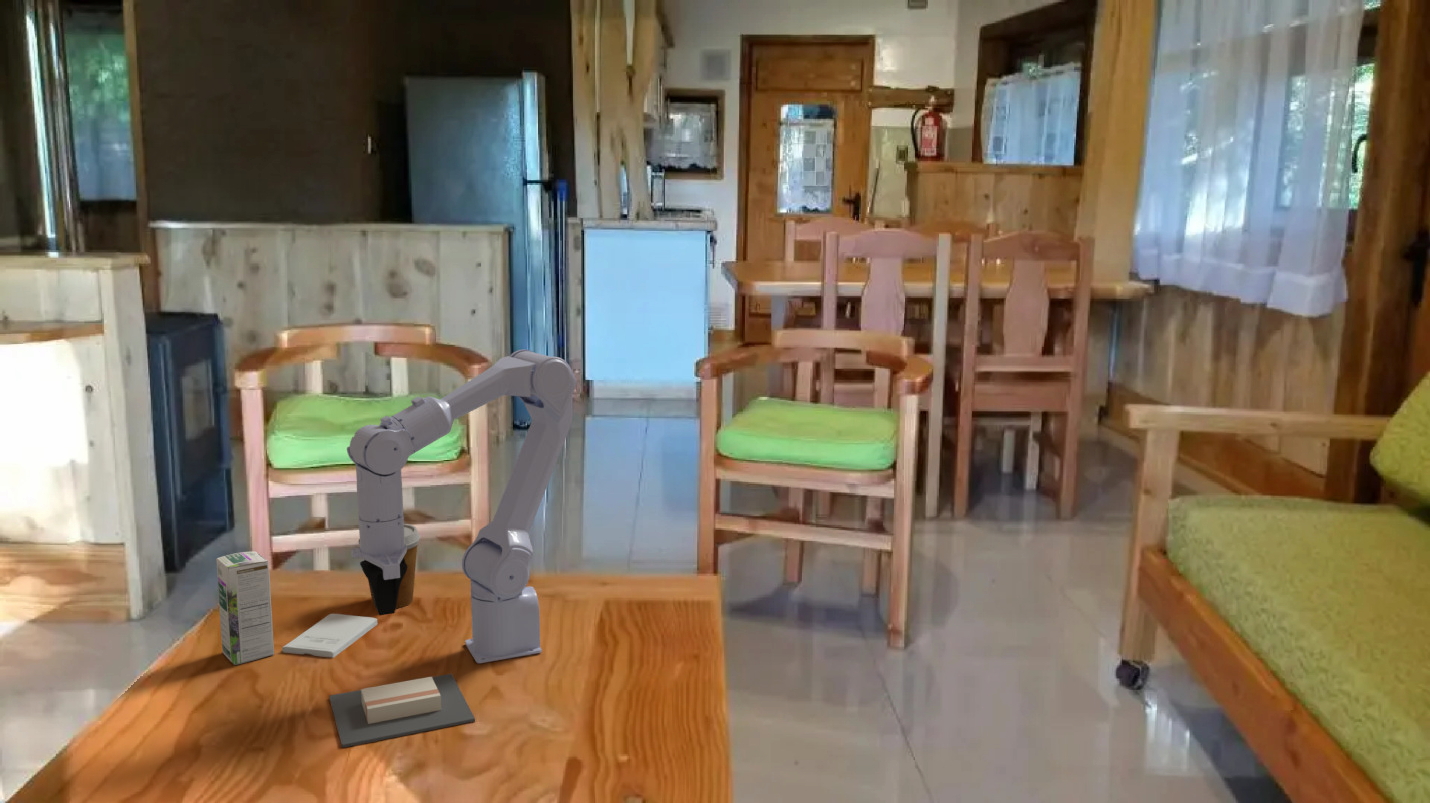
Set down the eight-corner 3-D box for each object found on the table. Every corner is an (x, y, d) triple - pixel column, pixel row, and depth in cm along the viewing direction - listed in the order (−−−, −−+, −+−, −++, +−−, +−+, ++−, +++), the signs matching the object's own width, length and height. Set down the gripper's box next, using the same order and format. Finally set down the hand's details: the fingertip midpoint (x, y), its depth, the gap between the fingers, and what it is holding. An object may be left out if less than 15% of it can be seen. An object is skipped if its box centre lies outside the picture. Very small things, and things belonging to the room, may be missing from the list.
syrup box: (221, 653, 155) (213, 557, 152) (263, 642, 159) (256, 548, 156) (233, 666, 151) (225, 568, 148) (276, 655, 154) (269, 559, 152)
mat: (451, 676, 148) (451, 673, 148) (475, 721, 136) (474, 718, 136) (329, 698, 142) (329, 695, 142) (342, 747, 129) (342, 744, 129)
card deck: (431, 676, 143) (440, 695, 138) (432, 690, 143) (441, 709, 138) (360, 688, 139) (367, 708, 134) (361, 703, 139) (368, 724, 134)
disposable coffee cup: (368, 591, 179) (364, 522, 176) (427, 590, 180) (424, 521, 177) (356, 614, 169) (352, 541, 167) (418, 612, 170) (414, 540, 168)
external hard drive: (377, 627, 166) (333, 661, 154) (329, 622, 168) (282, 655, 156) (377, 617, 166) (333, 650, 154) (329, 612, 167) (281, 645, 155)
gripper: (342, 504, 147) (348, 598, 150) (356, 535, 134) (362, 637, 137) (395, 498, 150) (400, 591, 153) (414, 528, 137) (419, 628, 140)
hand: (386, 612), depth 145 cm, fingers closed
